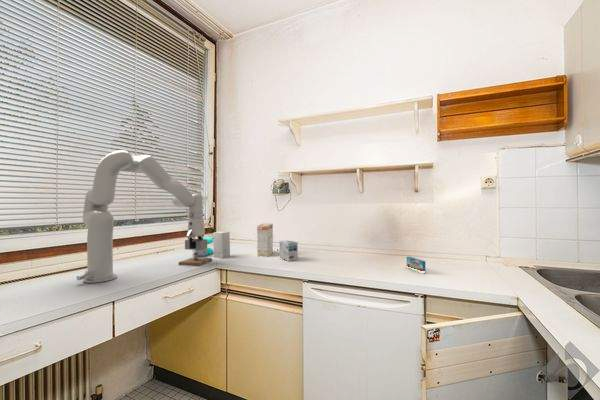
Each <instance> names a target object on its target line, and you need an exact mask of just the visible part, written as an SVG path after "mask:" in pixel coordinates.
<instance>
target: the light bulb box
mask: <svg viewBox="0 0 600 400" xmlns="http://www.w3.org/2000/svg"><path fill="white" fill-rule="evenodd" d="M298 243H299V242H298V241H293V240H288V239H287V240H279V259H280V258H282V259H281V260H283V259H285V260H284V261H286V260H287V262H292V260H295V261H298V259H299V258H298V257H299V255H298V252H299V251H298V250H299V249H298V248H299V247H298V245H299V244H298Z"/></svg>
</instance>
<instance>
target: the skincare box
mask: <svg viewBox="0 0 600 400" xmlns="http://www.w3.org/2000/svg"><path fill="white" fill-rule="evenodd" d="M212 236H213V238H212V239H213V242H212V243H213V258H218V259H225V257H227V258H230V257H231V243H230V242H231V239H230V238H231V237H230V231H222V230H220V231H216V232H213V233H212ZM229 256H230V257H229Z"/></svg>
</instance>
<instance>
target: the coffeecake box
mask: <svg viewBox="0 0 600 400" xmlns="http://www.w3.org/2000/svg"><path fill="white" fill-rule="evenodd" d="M273 225H274V224H273V223H267V222H266V223H261V224H258V225H257V226H256V234H257V235H256V239H257V241H256V243H257V246H256V250H257V253H256V255H257V257H260V256H268V255H269V256H270V255H271V254H273V252H274V248H273V247H274V242H273V241H274V236H273V234H274V229H273V228H274V226H273ZM269 256H268V257H269Z"/></svg>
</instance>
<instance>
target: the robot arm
mask: <svg viewBox="0 0 600 400" xmlns="http://www.w3.org/2000/svg"><path fill="white" fill-rule="evenodd" d="M121 171H122V172H126V173H127V172H128V173H129V172H130V173H136V174H138V173H142V174H144V175H145V176H146V177H147V178H148V179H149V180H150V181H152V183H153V184H154V185H155V186H156V187H158V188H159V189H161V190H163V191H165V192H168V193H169V194H171V195H172V196H173V198H172V201H171V202H172V204H173V205H174V206H175V207H177V208H187V209H188V221H187V234H186V238H187V240H189V242H190V249H195V241H194V240H195V239H203V238H204V235H206V234H205V233H206V229H205V226H206V225H205V220H204V209H203V208H204V206H203V205H204V203H203V194H201V193H191V192H190V190H189V189H188V188H187V187H186V186H185V185H184V184H182V183H181V182H180V181H179V180H177V179H176V178H174V177H173V176H172V175H170V173H168V171H167V170H166V169H165V168H164V167H163V166H162V165H161V164H160V163H159V162H158V161H157V160H156V158H154V157H153V156H151V155H149V154H143V155H132V154H131V152H129V151H126V150H121V149H120V150H115V151H113V152H110V153H108V154H107V155H105V157H103V158H102V159H101V160H100V161H99V162H98V164H97V166H96V168H95V171H94V172H95V174H94V179H93V184H92V187H91V188H89V189H88V190H87V192H86V194H85V197H84V205H83V211H82V212H83V213H82V221H83V224H84V225H85V226H86V227H87V237H86V243H87V245H86V247H87V248H86V250H87V251H86V253H87V254H86V256H87V258H86V259H87V260H86V261H87V262H86V263H87V266H86V267H87V269H86V270H85V271H84V273H83V274H79V275H77V276H76V278H75V279H76V280H77V281H83V282H84V283H89V284H94V283H95V284H96V283H97V284H98V283H103V282H108V281H111V280H115V279H116V278H117V277H118V274H117V273H115V272H114V263H113V262H114V258H113V257H114V256H113V255H114V251H113V250H114V247H113V246H114V245H113V244H114V242H113V238H114V235H113V234H114V225H115V219H114V216H113V214H112V213H111V212H110V211H108V209H109V206H110V205H111V204H112V203H114V201H115V197H116V196H115V193H116V187H117V185H116V184H117V180H118V176H119V173H120V172H121Z"/></svg>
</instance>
